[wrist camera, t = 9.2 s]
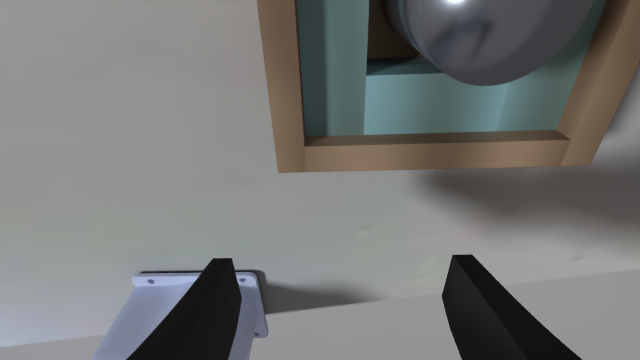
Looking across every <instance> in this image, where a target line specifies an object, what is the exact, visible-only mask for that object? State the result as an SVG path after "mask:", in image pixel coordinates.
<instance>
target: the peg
mask: <svg viewBox="0 0 640 360" xmlns="http://www.w3.org/2000/svg"><path fill="white" fill-rule="evenodd" d="M593 1H594V0H380V2H381V8H382V12H383V15H384V17H385V19H386V21H387V23H388V24H389V26H390V27H391V28H392V29H393V30H394V31H395V32H396V33H397V34H398V35H399V36H401V37H402V38H403V39H404V40H405V41H407V42H408V43H409V44H410V45H411V46H413V47H414V48H415V49H416V50H418V51H419V52H420V53H421V54H422V55H424V56H425V57H426V58H427V59H428V60H430V61H431V62H432V63H433V64H434V65H436V66H437V67H438V68H439V69H440V70H442V71H443V72H444V73H445V74H447V75H448V76H450V77H451V78H453V79H455V80H457V81H459V82H462V83H465V84H469V85H475V86H494V85H500V84H504V83H508V82H512V81H514V80H517V79H520V78H522V77H524V76H526V75H528V74H530V73H532V72H533V71H535V70H537V69H538V68H540V67H541V66H543V65H544V64H545V63H547V62H548V61H549V60H551V59H552V58H553V57H554V56H555V55H556V54H557V53H558V52H560V51H561V50H562V48H563V47H564V46H565V45H566V44H567V43H568V42H569V41H570V40H571V38H572V37H573V36H574V34H575V33H576V32H577V30H578V29H579V27H580V26H581V24H582V23H583V21H584V19H585V18H586V16H587V14H588V12H589V10H590V8H591V6H592V3H593Z"/></svg>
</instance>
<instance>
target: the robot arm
mask: <svg viewBox="0 0 640 360" xmlns="http://www.w3.org/2000/svg"><path fill="white" fill-rule="evenodd" d="M132 282H133V284H134V286H135V288H134V289H133V291H132V292H131V294H130V296H129V297H128V299H127V301H126V302H125V304H124V305H123V307H122V309H121V310H120V312H119V314H118V315H117V317H116V318H115V320H114V322H113V323H112V325H111V327H110V328H109V330H108V331H107V333H106V335H105V336H104V338H103V340H102V341H101V343H100V345H99V346H98V348H97V349H96V351H95V353H94V354H93V356H92V358H91V360H249V356H250V351H251V346H252V341H253V338H264V337H266V336H268V327H267V322H266V318H265V313H264V308H263V303H262V298H261V294H260V289H259V284H258V279H257V276H256V274H254V273H252V272H235V269H234V265H233V261H232V258H214V259H212V260H211V261H210V263H209V264H208V265H207V267H206V268H205V269H204V270H203V272H202V273H142V274H135V275H134V276H133V278H132ZM442 299H443V303H444V307H445V311H446V315H447V318H448V322H449V326H450V329H451V332H452V334H453V337H454V340H455V343H456V345H457V348H458V350H459V353H460V356H461V358H462V360H582V359H581V358H580V357H578V356H577V355H576V354H575V353H574V352H572V351H571V350H570V349H569V348H568V347H567V346H565V345H564V344H563V343H562V342H561V341H560V340H559V339H558V338H556V337H555V336H554V335H553V334H552V333H551V332H550V331H549V330H547V329H546V328H545V327H544V326H543V325H542V324H541V323H540V322H539V321H538V320H537V319H535V317H534V316H532V315H531V314H530V313H529V312H528V311H527V310H526V309H525V308H524V307H523V306H522V305H521V304H520V303H519V302H518V301H517V300H516V299H515V298H514V297H513V296H512V295H511V294H510V293H509V292H508V291H507V290H506V289H505V288H504V287H503V286H502V285H501V284H500V283H499V282H498V281H497V280H496V279H495V278H494V277H493V276H492V275H491V274H490V273H489V272H488V271H487V270H486V269H485V268H484V267H483V265H482V264H481V263H480V262H479V261H478V260H477V259H476V258H475V257H474V256H473V255H452V259H451V263H450V267H449V271H448V275H447V278H446V282H445V286H444V290H443V294H442Z"/></svg>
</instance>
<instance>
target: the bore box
mask: <svg viewBox="0 0 640 360" xmlns="http://www.w3.org/2000/svg"><path fill="white" fill-rule="evenodd" d="M257 6H258V14H259V22H260V30H261V38H262V46H263V54H264V62H265V70H266V78H267V86H268V94H269V102H270V110H271V118H272V126H273V135H274V143H275V151H276V159H277V167H278V173H288V172H330V171H373V170H416V169H459V168H502V167H545V166H588V165H590V164H591V162H592V160H593V158H594V156H595V154H596V152H597V150H598V147H599V145H600V143H601V141H602V139H603V137H604V135H605V133H606V131H607V129H608V127H609V125H610V123H611V120H612V118H613V116H614V114H615V112H616V110H617V108H618V106H619V104H620V102H621V100H622V98H623V96H624V94H625V91H626V89H627V87H628V85H629V83H630V81H631V79H632V77H633V75H634V73H635V71H636V69H637V67H638V64H639V62H640V0H594V1H593V3H592V6H591V8H590V10H589V12H588V14H587V16H586V18H585V19H584V21H583V23H582V24H581V26H580V27H579V29H578V30H577V32H576V33H575V34H574V36H573V37H572V38H571V40H570V41H569V42H568V43H567V44H566V45H565V46H564V47H563V48H562V50H561V51H560V52H558V53H557V54H556V55H555V56H554V57H553V58H552V59H551V60H549V61H548V62H547V63H545V64H544V65H543V66H541V67H540V68H538V69H537V70H535V71H533V72H532V73H530V74H528V75H526V76H524V77H522V78H520V79H517V80H514V81H512V82H508V83H504V84H500V85H494V86H475V85H469V84H465V83H462V82H459V81H457V80H455V79H453V78H451V77H450V76H448V75H447V74H445V73H444V72H443V71H442V70H440V69H439V68H438V67H437V66H436V65H434V64H433V63H432V62H431V61H430V60H428V59H427V58H426V57H425V56H424V55H422V54H421V53H420V52H419V51H418V50H416V49H415V48H414V47H413V46H411V45H410V44H409V43H408V42H407V41H405V40H404V39H403V38H402V37H401V36H399V35H398V34H397V33H396V32H395V31H394V30H393V29H392V28H391V27H390V26H389V24H388V23H387V21H386V19H385V17H384V15H383V12H382V8H381V2H380V0H257Z"/></svg>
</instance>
